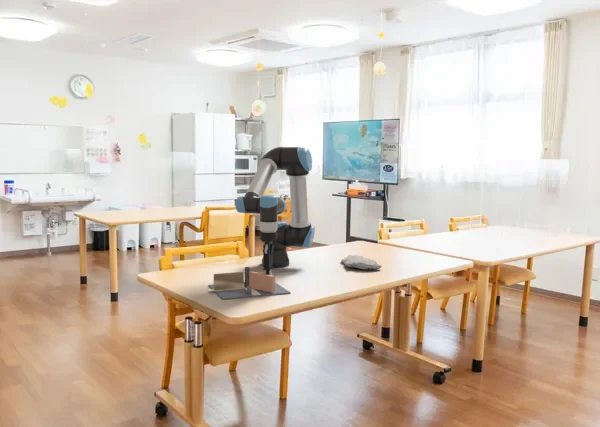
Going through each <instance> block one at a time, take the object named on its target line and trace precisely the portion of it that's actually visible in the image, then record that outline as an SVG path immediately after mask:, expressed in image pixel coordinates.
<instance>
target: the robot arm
mask: <svg viewBox="0 0 600 427" xmlns="http://www.w3.org/2000/svg"><path fill="white" fill-rule="evenodd" d="M311 153H312V152H310V150H309V149H308V148H307V147H301V146H287V147H286V146H277V147H274V148H272V149H270V150H269V151H267V152H266V153H265V154H264V155H263V156H262V157H261V158H260V160H259V162H258V168H257V171H256V173H255V174H254V176H253V178H252V181H251V183H250V184H249V186H248V189H247V190H246V192H245V195H242V196H238V197H236V199H235V211H237V213H239V214H250V215H251V214H252V215H253V214H254V215H256V214H257V215H259V223H258V226H259V240H260V241H262V242H264V244H263V245H262V248H263V249H262V254H263V256H262V258H261V265H262V266H263V268H262V270H263V271H264V274H268V275H272V270H274V268H284V267H289V266H290V258H289V254H288V250H287V247H292V248H293V247H294V248H310V247H311V246H312V245H313V243H314V239H315V232H316V229H315V226H314V225H312V221H311V220H309V215H308V212H309V211H308V210H309V209H308V190H307V188H308V187H307V176H308V175H309V174H310V171H311V170H312V169H313V158H312V154H311ZM277 171H285V175H286V176H287V177H288V178H289V195H290V212H291V213H290V214H291V220H290V221H288V222H289V223H288V222H287V221H278V215H281V214H282V213H284V212H285V210H287V209H286V208H287V203H286V201H285V200H284V198H282V197H279V196H277V195H274V194H266V195H265V194H264V193H265V192H266V189H267V187H268V185H269V183H270V180H271V178H272V177H273V175H274V174H276V173H277Z"/></svg>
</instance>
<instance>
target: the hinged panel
mask: <svg viewBox="0 0 600 427" xmlns="http://www.w3.org/2000/svg"><path fill="white" fill-rule="evenodd" d="M275 278H276V275H272V274H271V275H268V274H265V273H263V272H262V273H261V272H257V271H250V272H249V286H251V287H252V288H253V289H257V290H262V291H266V292H271V293H273V292H275V282H276V281H275V280H276V279H275Z"/></svg>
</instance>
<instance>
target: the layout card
mask: <svg viewBox="0 0 600 427" xmlns="http://www.w3.org/2000/svg"><path fill="white" fill-rule="evenodd" d="M208 287H209V288H210V289H209V288H208V291H209V292H214V293H215V294H216V295H217V296H218V297H219V298H220V299H221V300H222V301H225V300H226V301H227V300H239V299H248V298H259V297H269V296H277V295H278V296H281V295H291V291H289V290H288V289H286V288H285V287H283V286H282V285H280V284H279V283H277V282H276V281H275V292H273V293H271V292H266V291H262V290H257V289H253V288H252V287H251V286H247V288H245V281H244V288H238V289H226V290H214V283H212V284H208Z"/></svg>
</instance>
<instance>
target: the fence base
mask: <svg viewBox="0 0 600 427" xmlns="http://www.w3.org/2000/svg"><path fill="white" fill-rule="evenodd" d="M249 272H251V267H250V266H245V267H244V272H243V271H238V272H237V271H236V272H235V271H234V272H224V273H220V272H219V273H213V284H214V290H226V289H238V288H244V282H245V288H247V286H249Z"/></svg>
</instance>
